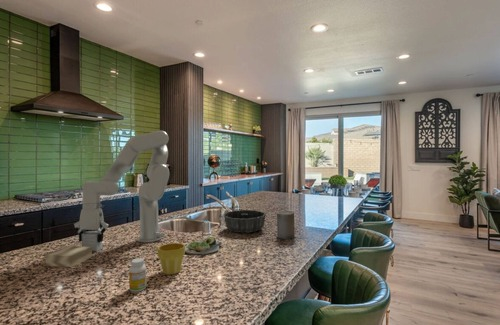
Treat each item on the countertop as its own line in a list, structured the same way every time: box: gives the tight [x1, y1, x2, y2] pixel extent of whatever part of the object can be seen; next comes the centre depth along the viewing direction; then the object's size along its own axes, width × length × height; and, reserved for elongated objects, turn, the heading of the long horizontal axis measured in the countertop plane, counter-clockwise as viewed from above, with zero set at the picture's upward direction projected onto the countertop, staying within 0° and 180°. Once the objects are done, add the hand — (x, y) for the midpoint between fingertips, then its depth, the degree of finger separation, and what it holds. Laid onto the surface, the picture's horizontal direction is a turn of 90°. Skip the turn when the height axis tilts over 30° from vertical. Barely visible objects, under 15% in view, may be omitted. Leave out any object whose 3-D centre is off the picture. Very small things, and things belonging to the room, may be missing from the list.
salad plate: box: [185, 236, 223, 256], centre depth 135 cm, size 19×18×5 cm
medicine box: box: [81, 230, 104, 252], centre depth 136 cm, size 8×4×9 cm, turn 84°
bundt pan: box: [223, 209, 267, 234], centre depth 173 cm, size 26×26×10 cm
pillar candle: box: [276, 210, 296, 240], centre depth 156 cm, size 10×10×15 cm
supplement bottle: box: [128, 257, 147, 293], centre depth 95 cm, size 5×5×10 cm
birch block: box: [44, 245, 93, 268], centre depth 121 cm, size 12×12×5 cm
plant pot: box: [157, 242, 186, 275], centre depth 109 cm, size 10×10×10 cm
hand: (91, 241), depth 136 cm, fingers open, 9 cm apart
